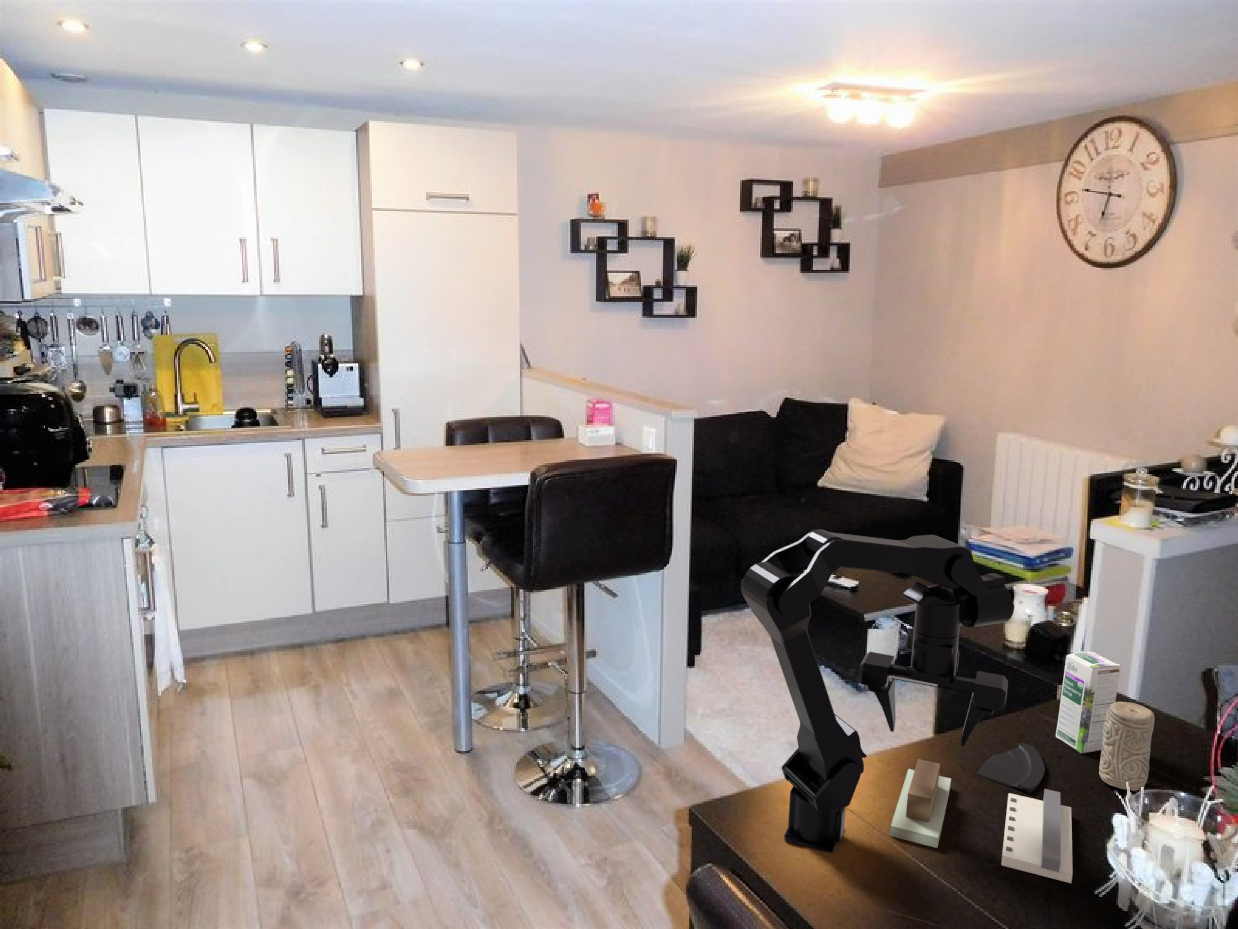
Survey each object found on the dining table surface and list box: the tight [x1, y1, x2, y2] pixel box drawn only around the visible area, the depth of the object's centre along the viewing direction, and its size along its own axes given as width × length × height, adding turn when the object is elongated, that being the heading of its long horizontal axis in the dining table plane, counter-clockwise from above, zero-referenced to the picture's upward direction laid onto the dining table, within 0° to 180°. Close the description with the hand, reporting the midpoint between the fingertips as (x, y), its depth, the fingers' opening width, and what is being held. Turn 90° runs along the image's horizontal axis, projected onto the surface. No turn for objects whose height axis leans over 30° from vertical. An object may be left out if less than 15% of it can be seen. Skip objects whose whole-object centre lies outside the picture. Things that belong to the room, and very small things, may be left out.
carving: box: [1098, 701, 1155, 792], centre depth 135 cm, size 6×8×12 cm
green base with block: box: [889, 758, 952, 849], centre depth 128 cm, size 6×16×5 cm, turn 155°
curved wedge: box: [976, 741, 1046, 794], centre depth 140 cm, size 8×14×2 cm, turn 137°
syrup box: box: [1055, 651, 1121, 754], centre depth 146 cm, size 6×6×14 cm
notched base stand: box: [1001, 788, 1074, 884], centre depth 122 cm, size 8×17×3 cm, turn 155°
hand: (927, 738), depth 126 cm, fingers open, 9 cm apart
